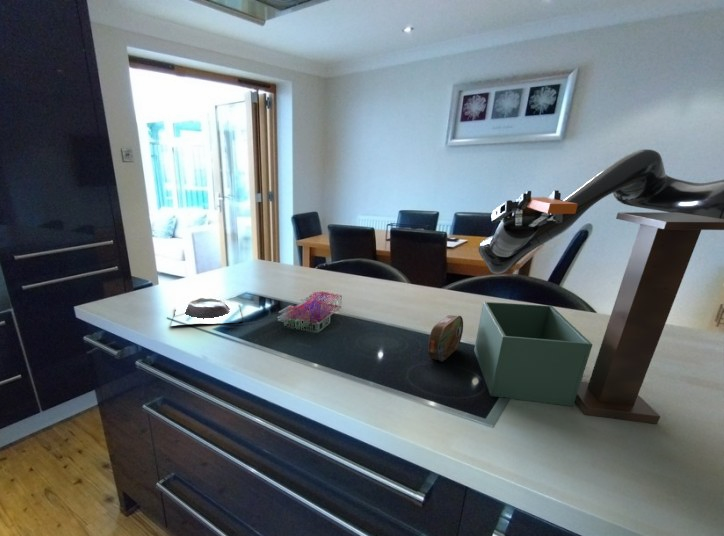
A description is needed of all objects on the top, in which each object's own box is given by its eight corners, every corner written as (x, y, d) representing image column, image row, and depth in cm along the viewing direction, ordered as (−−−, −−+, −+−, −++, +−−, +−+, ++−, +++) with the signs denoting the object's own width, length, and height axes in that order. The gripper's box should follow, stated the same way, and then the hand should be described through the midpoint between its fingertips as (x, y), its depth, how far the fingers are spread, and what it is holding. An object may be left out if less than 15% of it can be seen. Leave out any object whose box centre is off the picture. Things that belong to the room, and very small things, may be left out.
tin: (437, 367, 84) (442, 330, 81) (423, 362, 86) (427, 327, 83) (461, 345, 94) (467, 312, 91) (448, 342, 96) (453, 309, 93)
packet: (543, 205, 80) (545, 197, 80) (575, 213, 64) (578, 203, 64) (521, 205, 81) (523, 197, 81) (547, 213, 66) (549, 203, 65)
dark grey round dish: (169, 328, 110) (168, 315, 108) (176, 306, 128) (174, 295, 127) (243, 323, 112) (242, 310, 111) (239, 302, 131) (238, 291, 129)
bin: (538, 356, 87) (552, 305, 83) (573, 406, 69) (592, 344, 64) (474, 350, 91) (483, 301, 86) (490, 396, 73) (502, 336, 68)
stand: (622, 388, 74) (686, 212, 62) (664, 431, 62) (754, 222, 49) (560, 381, 77) (610, 212, 64) (589, 421, 64) (657, 221, 52)
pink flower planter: (312, 298, 133) (312, 283, 131) (354, 303, 126) (355, 288, 124) (267, 326, 109) (266, 308, 107) (316, 335, 102) (316, 316, 100)
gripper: (483, 215, 94) (502, 177, 78) (551, 215, 90) (587, 175, 73) (480, 244, 93) (500, 213, 77) (549, 246, 89) (585, 213, 73)
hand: (542, 195), depth 75 cm, fingers closed on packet, 4 cm apart
